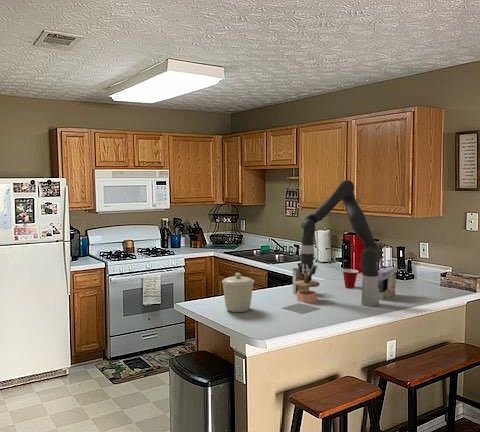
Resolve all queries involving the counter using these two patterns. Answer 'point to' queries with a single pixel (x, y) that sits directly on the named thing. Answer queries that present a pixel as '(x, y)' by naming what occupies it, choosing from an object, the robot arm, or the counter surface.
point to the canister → (237, 293)
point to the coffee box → (297, 277)
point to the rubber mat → (301, 308)
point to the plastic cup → (350, 277)
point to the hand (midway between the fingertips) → (306, 280)
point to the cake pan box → (386, 282)
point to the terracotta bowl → (306, 296)
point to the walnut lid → (306, 282)
